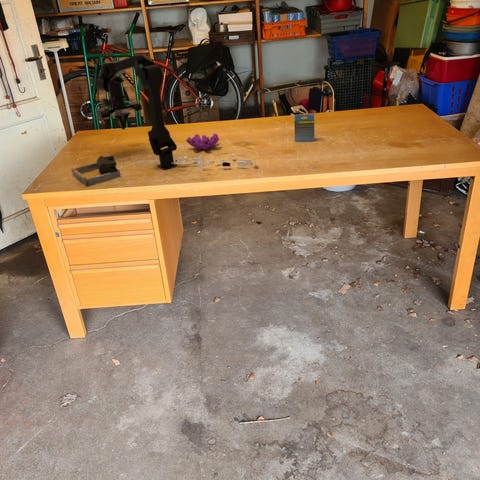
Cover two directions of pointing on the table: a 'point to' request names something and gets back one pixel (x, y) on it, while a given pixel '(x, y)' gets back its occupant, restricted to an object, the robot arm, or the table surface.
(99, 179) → the frame
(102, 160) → the end cap
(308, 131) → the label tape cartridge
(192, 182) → the table surface
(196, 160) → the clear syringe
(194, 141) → the purple flower bowl
